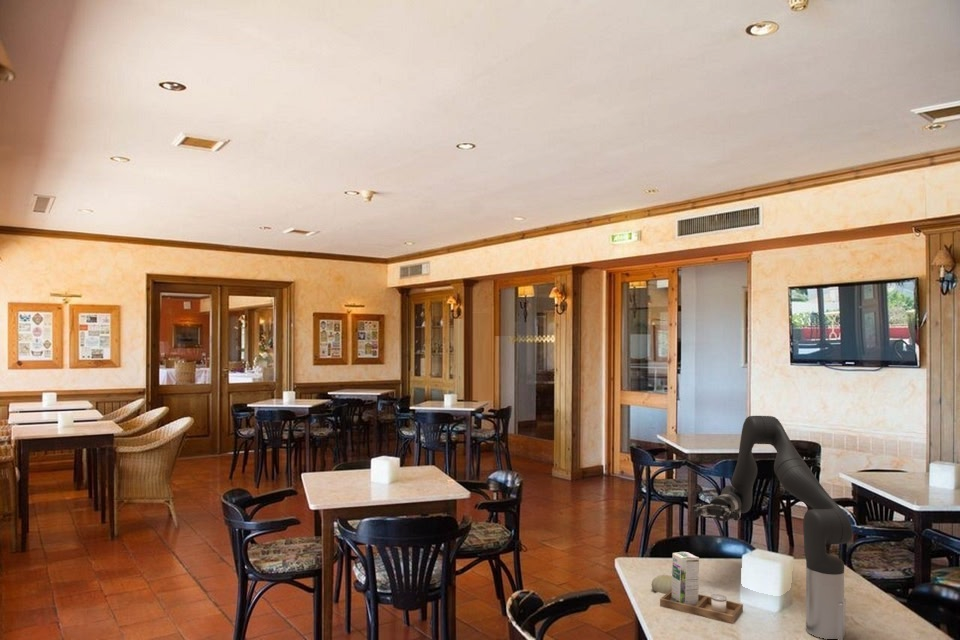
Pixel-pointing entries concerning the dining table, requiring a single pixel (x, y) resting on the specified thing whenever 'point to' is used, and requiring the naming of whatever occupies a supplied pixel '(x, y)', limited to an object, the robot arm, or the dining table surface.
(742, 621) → the dining table surface
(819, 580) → the robot arm
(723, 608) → the translucent white cylinder
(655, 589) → the sea urchin shell
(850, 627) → the dining table surface
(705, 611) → the caddy
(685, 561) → the syrup box
